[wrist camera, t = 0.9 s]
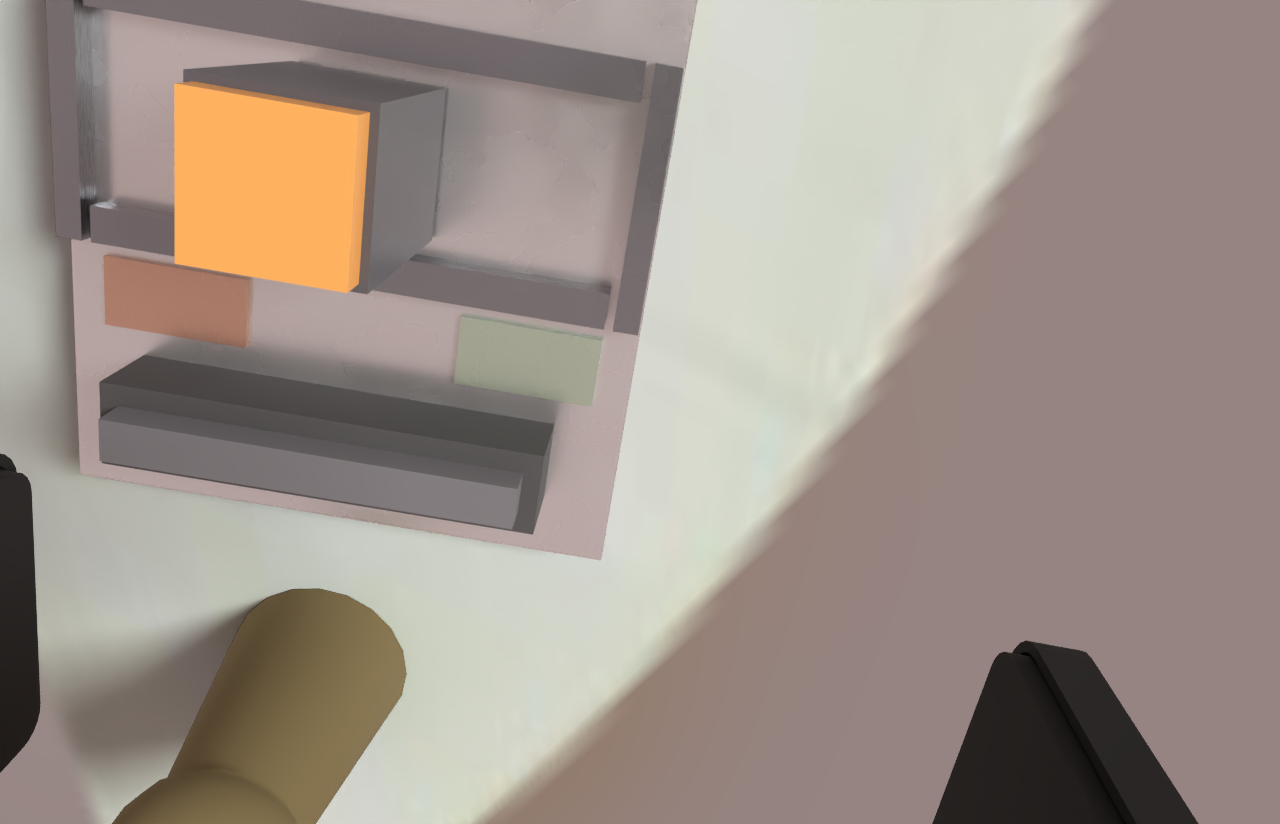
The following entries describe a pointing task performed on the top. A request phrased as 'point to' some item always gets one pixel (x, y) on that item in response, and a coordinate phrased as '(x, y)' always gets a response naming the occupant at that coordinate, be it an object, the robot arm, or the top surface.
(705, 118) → the top surface
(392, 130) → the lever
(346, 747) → the cork
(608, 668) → the top surface
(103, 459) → the long gray rail
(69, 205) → the panel
